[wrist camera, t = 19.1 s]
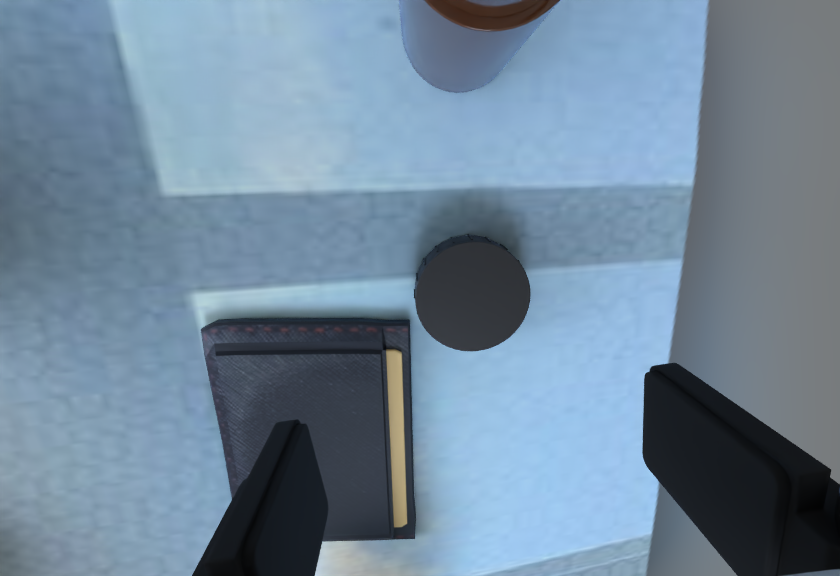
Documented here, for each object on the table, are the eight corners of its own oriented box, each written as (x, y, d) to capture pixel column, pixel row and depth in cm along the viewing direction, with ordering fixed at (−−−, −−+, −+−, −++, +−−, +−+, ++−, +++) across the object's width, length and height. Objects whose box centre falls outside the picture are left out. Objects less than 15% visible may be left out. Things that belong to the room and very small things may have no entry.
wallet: (189, 326, 25) (419, 328, 26) (204, 316, 27) (418, 318, 28) (227, 556, 31) (415, 556, 31) (237, 535, 33) (415, 535, 33)
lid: (395, 266, 27) (393, 276, 24) (492, 214, 26) (501, 218, 23) (444, 353, 28) (448, 370, 26) (537, 307, 28) (549, 320, 25)
